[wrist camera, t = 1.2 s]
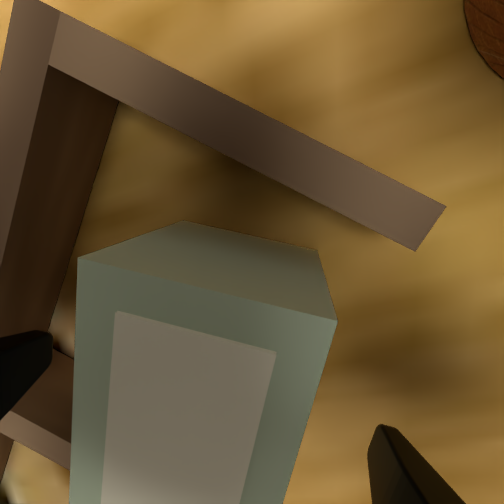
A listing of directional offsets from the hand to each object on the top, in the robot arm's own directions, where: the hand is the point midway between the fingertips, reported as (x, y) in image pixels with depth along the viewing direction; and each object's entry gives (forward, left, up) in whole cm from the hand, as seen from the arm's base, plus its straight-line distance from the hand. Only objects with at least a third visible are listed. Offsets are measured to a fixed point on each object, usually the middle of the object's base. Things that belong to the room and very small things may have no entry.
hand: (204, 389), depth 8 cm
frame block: (0, 0, -4) cm, 4 cm away
